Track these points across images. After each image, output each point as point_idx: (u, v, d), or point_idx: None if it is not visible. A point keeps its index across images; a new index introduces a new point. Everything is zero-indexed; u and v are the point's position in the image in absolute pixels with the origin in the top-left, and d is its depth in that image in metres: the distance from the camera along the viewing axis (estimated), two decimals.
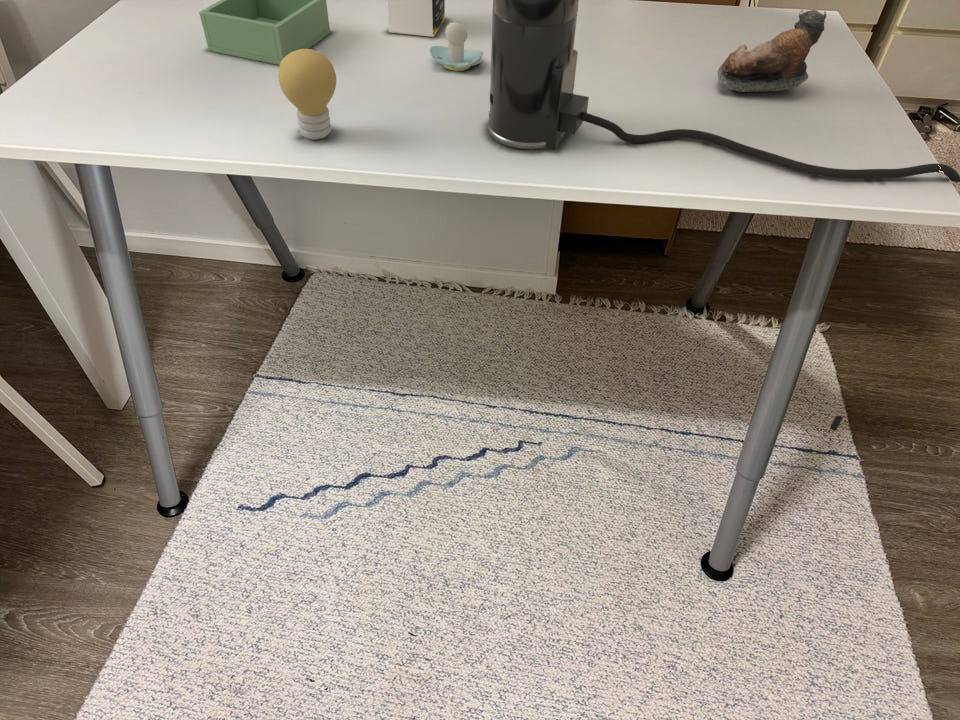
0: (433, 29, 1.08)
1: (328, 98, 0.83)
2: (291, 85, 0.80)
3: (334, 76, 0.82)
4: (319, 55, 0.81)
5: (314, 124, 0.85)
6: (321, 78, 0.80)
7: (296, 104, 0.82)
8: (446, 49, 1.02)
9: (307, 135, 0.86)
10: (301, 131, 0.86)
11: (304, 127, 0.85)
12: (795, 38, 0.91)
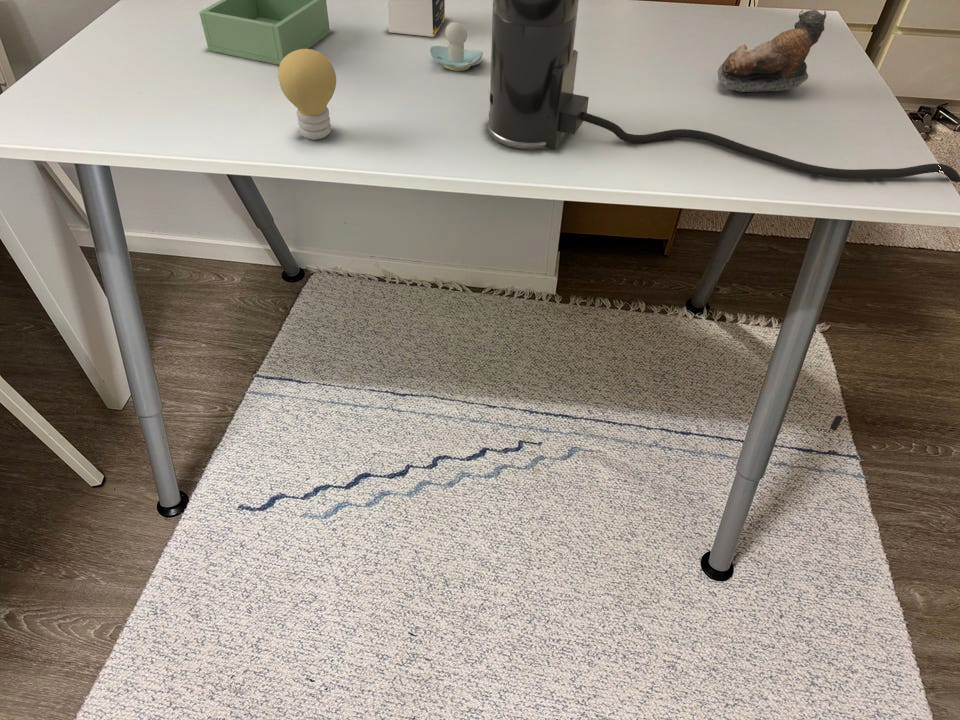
0: (433, 29, 1.08)
1: (328, 98, 0.83)
2: (291, 85, 0.80)
3: (334, 76, 0.82)
4: (319, 55, 0.81)
5: (314, 124, 0.85)
6: (321, 78, 0.80)
7: (296, 104, 0.82)
8: (446, 49, 1.02)
9: (307, 135, 0.86)
10: (301, 131, 0.86)
11: (304, 127, 0.85)
12: (795, 38, 0.91)
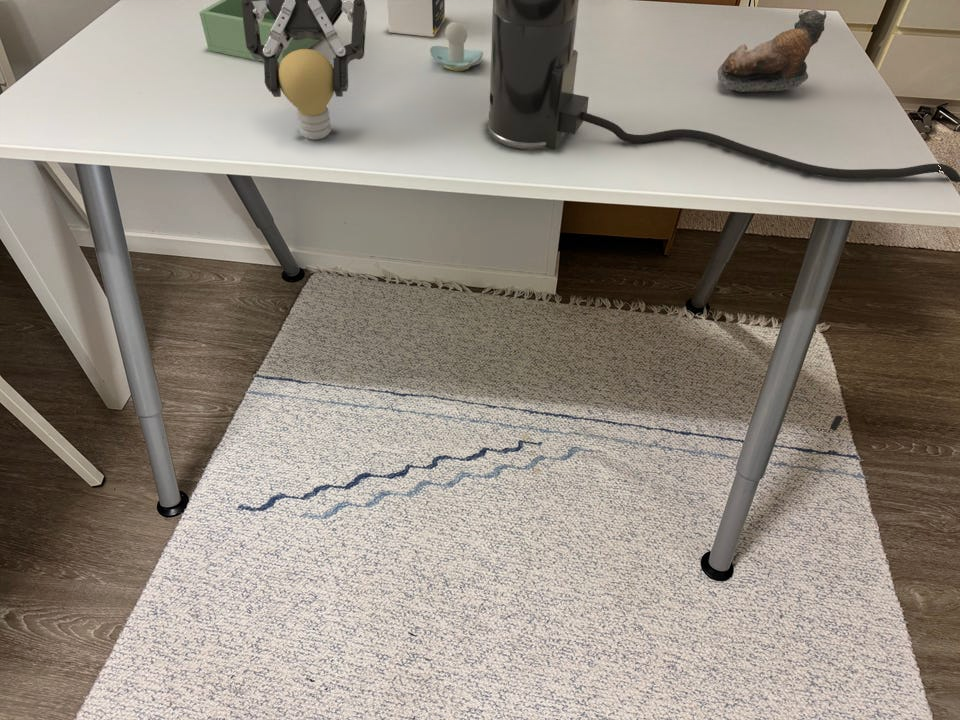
0: (433, 29, 1.08)
1: (328, 98, 0.83)
2: (291, 85, 0.80)
3: None
4: (319, 55, 0.81)
5: (314, 124, 0.85)
6: (321, 78, 0.80)
7: (296, 104, 0.82)
8: (446, 49, 1.02)
9: (307, 135, 0.86)
10: (301, 131, 0.86)
11: (304, 127, 0.85)
12: (795, 38, 0.91)
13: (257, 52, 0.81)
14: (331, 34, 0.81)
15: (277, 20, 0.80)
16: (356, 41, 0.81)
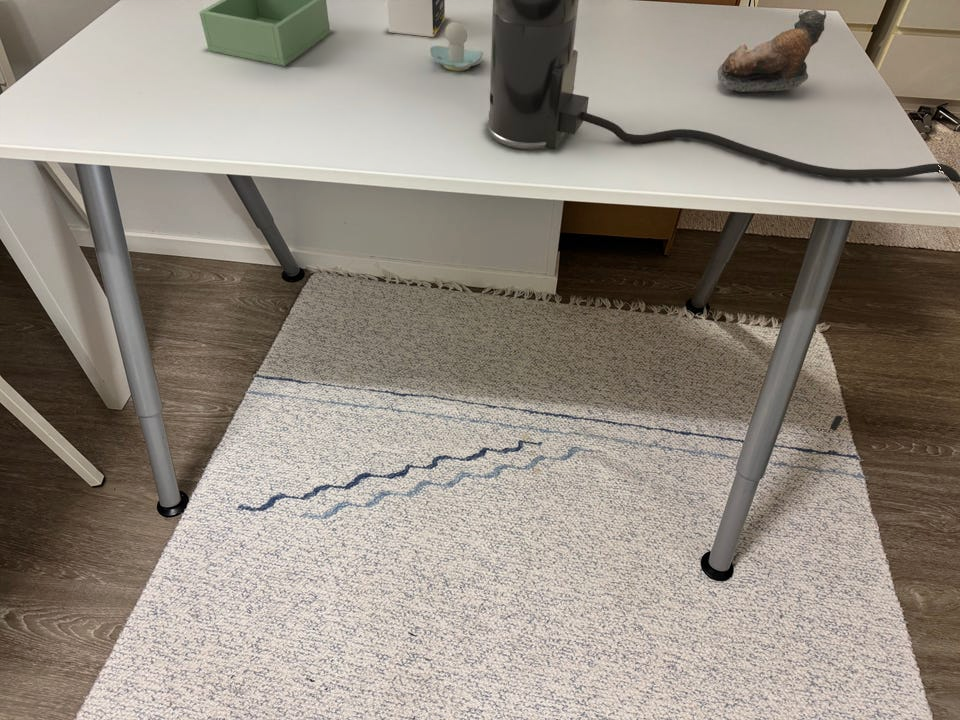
0: (433, 29, 1.08)
1: None
2: None
3: None
4: None
5: None
6: None
7: None
8: (446, 49, 1.02)
9: None
10: None
11: None
12: (795, 38, 0.91)
13: None
14: None
15: None
16: None
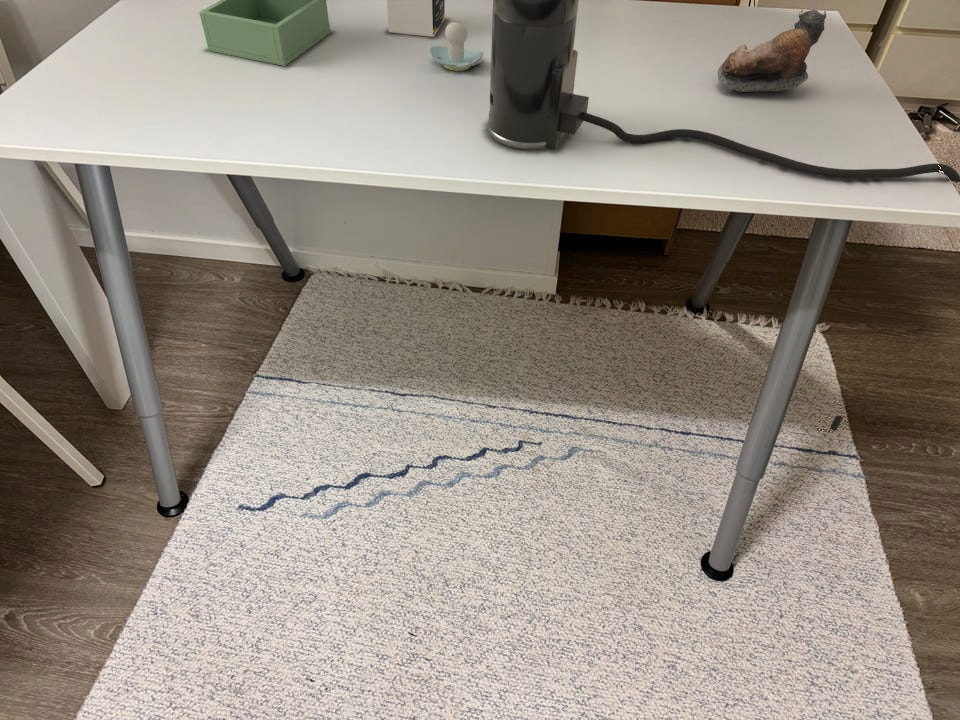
0: (433, 29, 1.08)
1: None
2: None
3: None
4: None
5: None
6: None
7: None
8: (446, 49, 1.02)
9: None
10: None
11: None
12: (795, 38, 0.91)
13: None
14: None
15: None
16: None
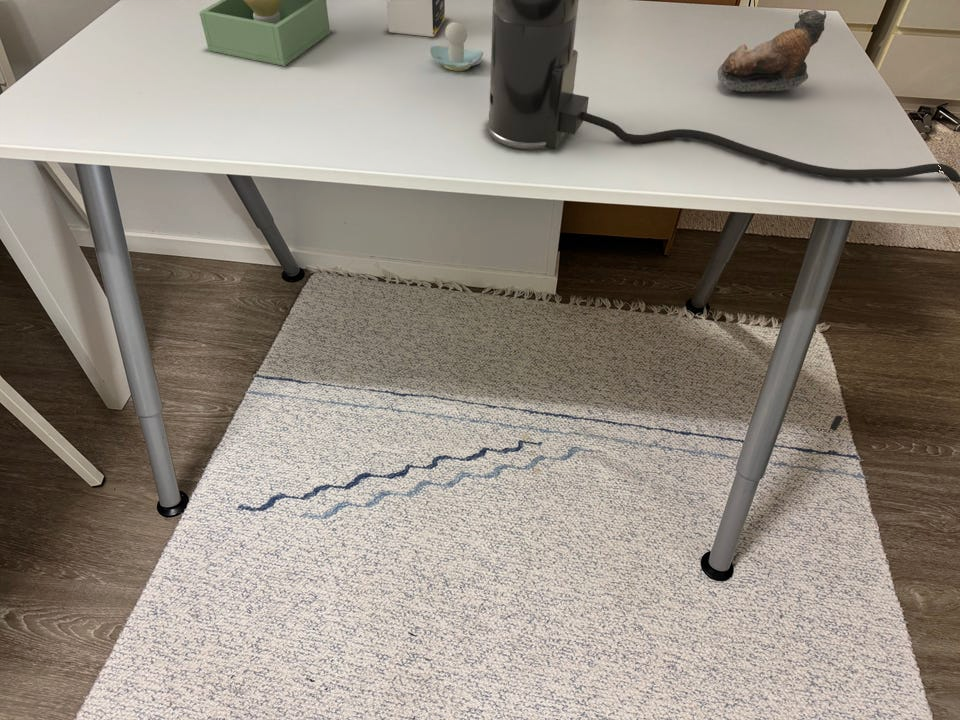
0: (433, 29, 1.08)
1: (278, 1, 1.01)
2: None
3: None
4: None
5: None
6: None
7: (251, 5, 1.01)
8: (446, 49, 1.02)
9: None
10: None
11: None
12: (795, 38, 0.91)
13: None
14: None
15: None
16: None
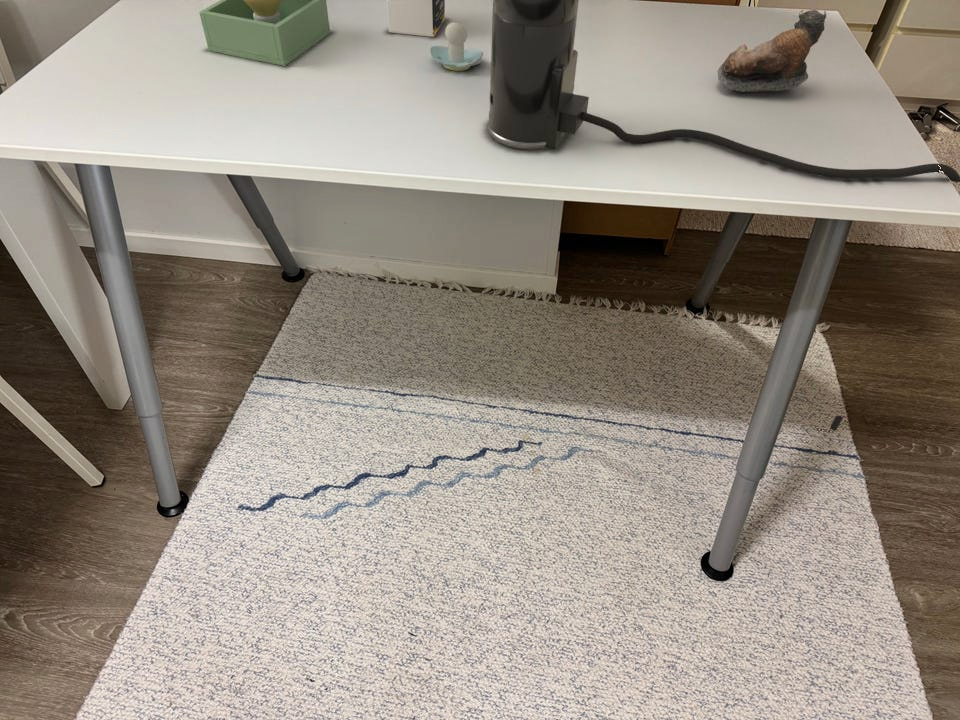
0: (433, 29, 1.08)
1: (278, 1, 1.01)
2: None
3: None
4: None
5: None
6: None
7: (251, 5, 1.01)
8: (446, 49, 1.02)
9: None
10: None
11: None
12: (795, 38, 0.91)
13: None
14: None
15: None
16: None
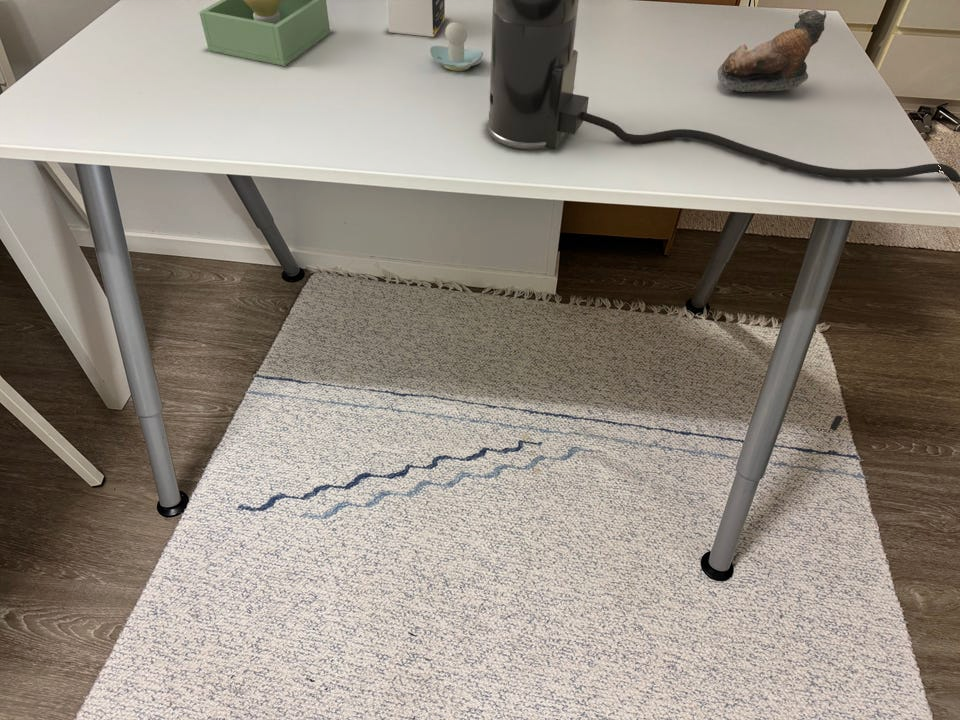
0: (433, 29, 1.08)
1: (278, 1, 1.01)
2: None
3: None
4: None
5: None
6: None
7: (251, 5, 1.01)
8: (446, 49, 1.02)
9: None
10: None
11: None
12: (795, 38, 0.91)
13: None
14: None
15: None
16: None
